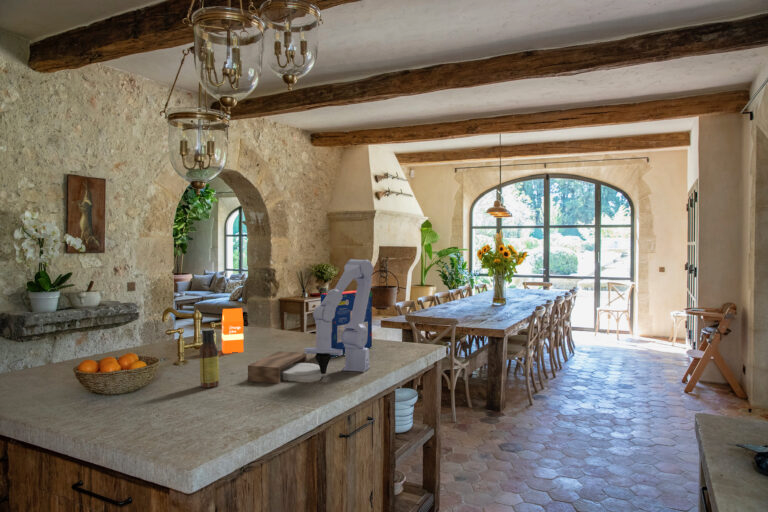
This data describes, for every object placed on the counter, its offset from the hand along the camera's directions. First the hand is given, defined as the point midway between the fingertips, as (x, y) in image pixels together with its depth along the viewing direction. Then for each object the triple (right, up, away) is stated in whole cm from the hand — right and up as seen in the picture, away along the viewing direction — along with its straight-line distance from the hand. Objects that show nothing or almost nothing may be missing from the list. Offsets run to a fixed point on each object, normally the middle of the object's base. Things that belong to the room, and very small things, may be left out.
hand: (323, 373), depth 188 cm
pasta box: (+6, -1, +46) cm, 46 cm away
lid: (-9, -2, +1) cm, 9 cm away
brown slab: (-18, -1, +4) cm, 18 cm away
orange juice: (-48, -1, +45) cm, 66 cm away
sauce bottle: (-38, -1, -14) cm, 41 cm away
